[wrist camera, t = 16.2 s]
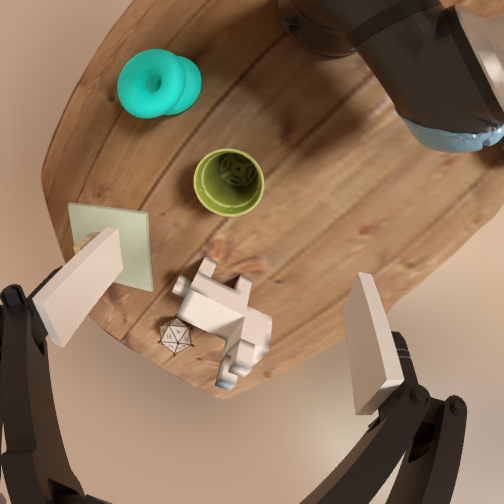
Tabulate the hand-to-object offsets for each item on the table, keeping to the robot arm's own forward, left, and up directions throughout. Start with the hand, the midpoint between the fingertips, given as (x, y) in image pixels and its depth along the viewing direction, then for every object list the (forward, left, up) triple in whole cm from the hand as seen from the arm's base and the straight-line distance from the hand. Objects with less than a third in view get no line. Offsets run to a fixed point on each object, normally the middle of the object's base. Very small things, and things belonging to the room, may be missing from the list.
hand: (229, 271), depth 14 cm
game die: (+40, -14, -32) cm, 53 cm away
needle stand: (+22, -30, -31) cm, 49 cm away
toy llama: (+26, -4, -32) cm, 41 cm away
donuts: (-10, -16, -32) cm, 37 cm away
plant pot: (+3, -4, -32) cm, 32 cm away
